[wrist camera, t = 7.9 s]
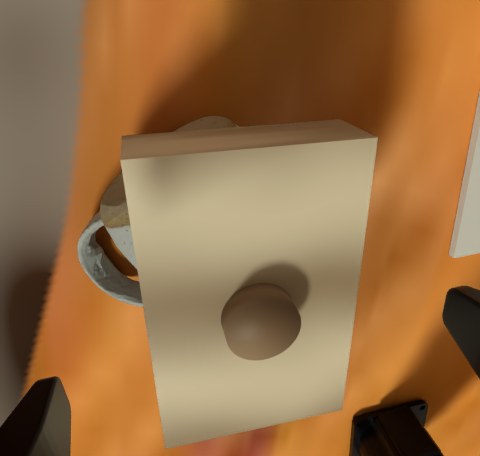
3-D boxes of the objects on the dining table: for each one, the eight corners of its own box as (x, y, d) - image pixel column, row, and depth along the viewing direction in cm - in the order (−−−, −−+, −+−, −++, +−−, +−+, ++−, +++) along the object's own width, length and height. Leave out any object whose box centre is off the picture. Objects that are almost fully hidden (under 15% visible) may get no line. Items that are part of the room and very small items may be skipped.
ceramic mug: (214, 88, 20) (253, 128, 13) (295, 212, 24) (356, 290, 17) (41, 215, 21) (-5, 312, 14) (146, 313, 25) (149, 424, 18)
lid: (318, 366, 19) (351, 427, 16) (160, 397, 17) (167, 469, 15) (340, 118, 14) (393, 145, 11) (122, 136, 12) (119, 170, 10)
